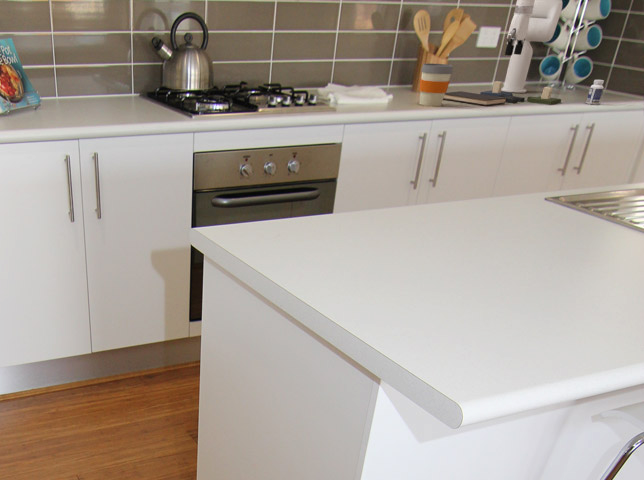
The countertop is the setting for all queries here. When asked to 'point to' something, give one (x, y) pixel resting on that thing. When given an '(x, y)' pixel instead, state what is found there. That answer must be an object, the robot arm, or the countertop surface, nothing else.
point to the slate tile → (496, 90)
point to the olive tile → (543, 101)
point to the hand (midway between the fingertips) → (512, 54)
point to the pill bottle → (595, 92)
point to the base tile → (512, 99)
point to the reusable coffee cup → (434, 83)
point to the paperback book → (474, 98)
